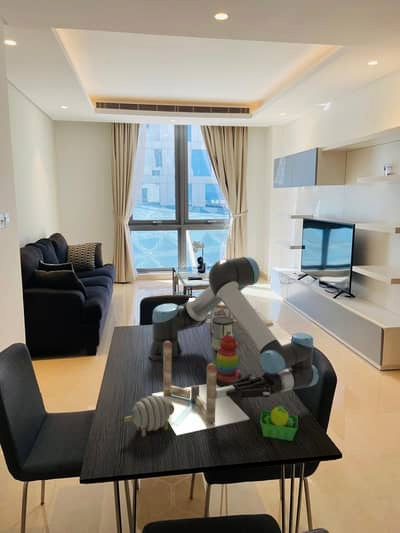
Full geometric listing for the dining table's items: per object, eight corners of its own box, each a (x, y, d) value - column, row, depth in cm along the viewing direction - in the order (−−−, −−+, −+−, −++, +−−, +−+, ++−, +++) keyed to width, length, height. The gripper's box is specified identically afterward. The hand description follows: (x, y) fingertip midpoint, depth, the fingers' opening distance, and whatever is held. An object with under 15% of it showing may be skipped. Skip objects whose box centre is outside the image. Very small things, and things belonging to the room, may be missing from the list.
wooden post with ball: (161, 396, 153) (161, 341, 149) (165, 392, 156) (165, 338, 152) (196, 405, 147) (197, 348, 143) (200, 400, 150) (201, 345, 146)
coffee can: (218, 341, 208) (219, 315, 205) (236, 346, 202) (237, 318, 200) (207, 348, 199) (208, 320, 196) (226, 353, 194) (227, 324, 191)
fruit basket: (296, 430, 133) (298, 397, 131) (296, 446, 124) (299, 412, 122) (261, 424, 135) (262, 393, 133) (258, 440, 127) (260, 406, 125)
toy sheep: (181, 429, 132) (182, 397, 130) (133, 447, 122) (133, 413, 120) (165, 414, 140) (165, 384, 138) (118, 430, 131) (118, 398, 129)
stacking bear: (238, 384, 163) (239, 341, 159) (213, 381, 165) (214, 339, 161) (241, 372, 173) (242, 332, 170) (217, 370, 175) (218, 330, 172)
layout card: (151, 394, 154) (151, 393, 154) (215, 383, 164) (215, 382, 163) (176, 435, 128) (176, 434, 128) (249, 419, 138) (249, 418, 138)
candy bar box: (209, 333, 220) (210, 303, 217) (213, 330, 225) (214, 301, 221) (229, 336, 216) (230, 306, 212) (232, 333, 220) (233, 304, 217)
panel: (192, 403, 146) (193, 349, 142) (201, 402, 147) (203, 348, 143) (207, 425, 133) (208, 366, 129) (217, 423, 134) (218, 365, 130)
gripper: (287, 400, 138) (224, 414, 128) (266, 383, 150) (207, 395, 140) (288, 379, 136) (225, 392, 127) (267, 364, 148) (207, 374, 139)
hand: (215, 393), depth 134 cm, fingers closed
